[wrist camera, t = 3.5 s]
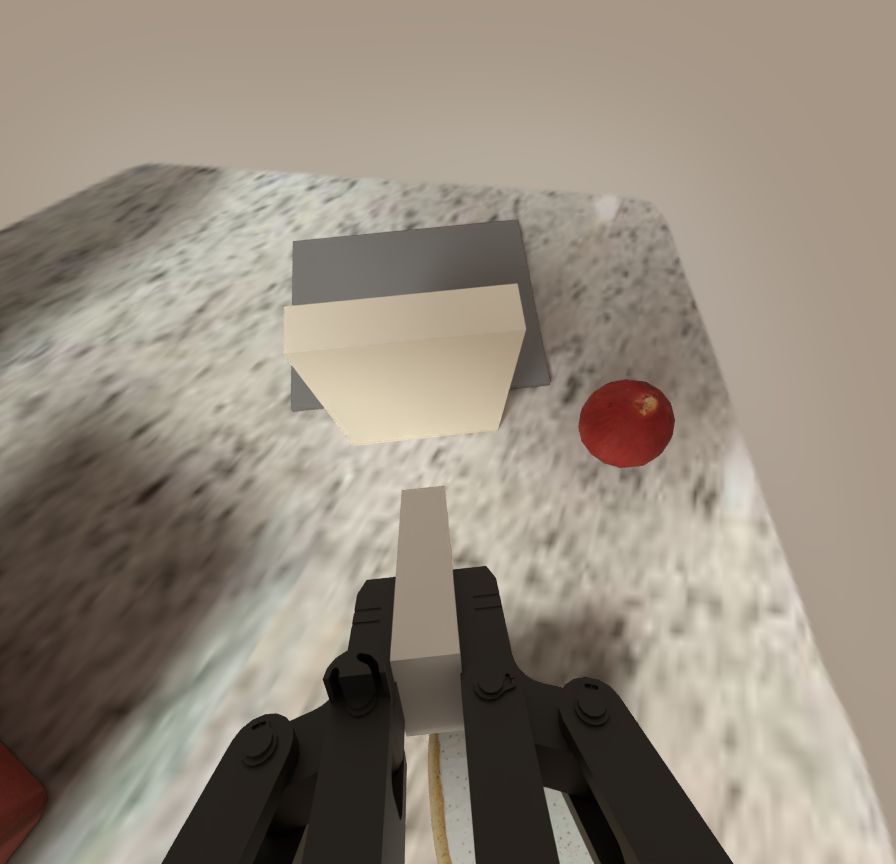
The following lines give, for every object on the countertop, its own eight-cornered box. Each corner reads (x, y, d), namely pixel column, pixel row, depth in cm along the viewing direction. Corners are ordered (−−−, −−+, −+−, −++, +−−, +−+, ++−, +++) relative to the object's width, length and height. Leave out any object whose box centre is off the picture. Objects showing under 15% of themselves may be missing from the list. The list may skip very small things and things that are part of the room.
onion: (593, 390, 34) (633, 336, 26) (660, 432, 33) (721, 388, 25) (552, 448, 32) (582, 408, 25) (620, 494, 31) (673, 467, 24)
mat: (549, 385, 34) (550, 382, 34) (293, 411, 34) (291, 409, 33) (517, 223, 39) (517, 219, 39) (294, 245, 39) (292, 241, 38)
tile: (353, 445, 33) (283, 353, 20) (351, 411, 34) (284, 302, 20) (497, 430, 33) (526, 329, 20) (492, 397, 34) (516, 279, 21)
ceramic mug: (428, 699, 27) (418, 747, 20) (555, 676, 28) (592, 714, 20) (456, 915, 24) (457, 1065, 17) (600, 886, 24) (663, 1021, 17)
